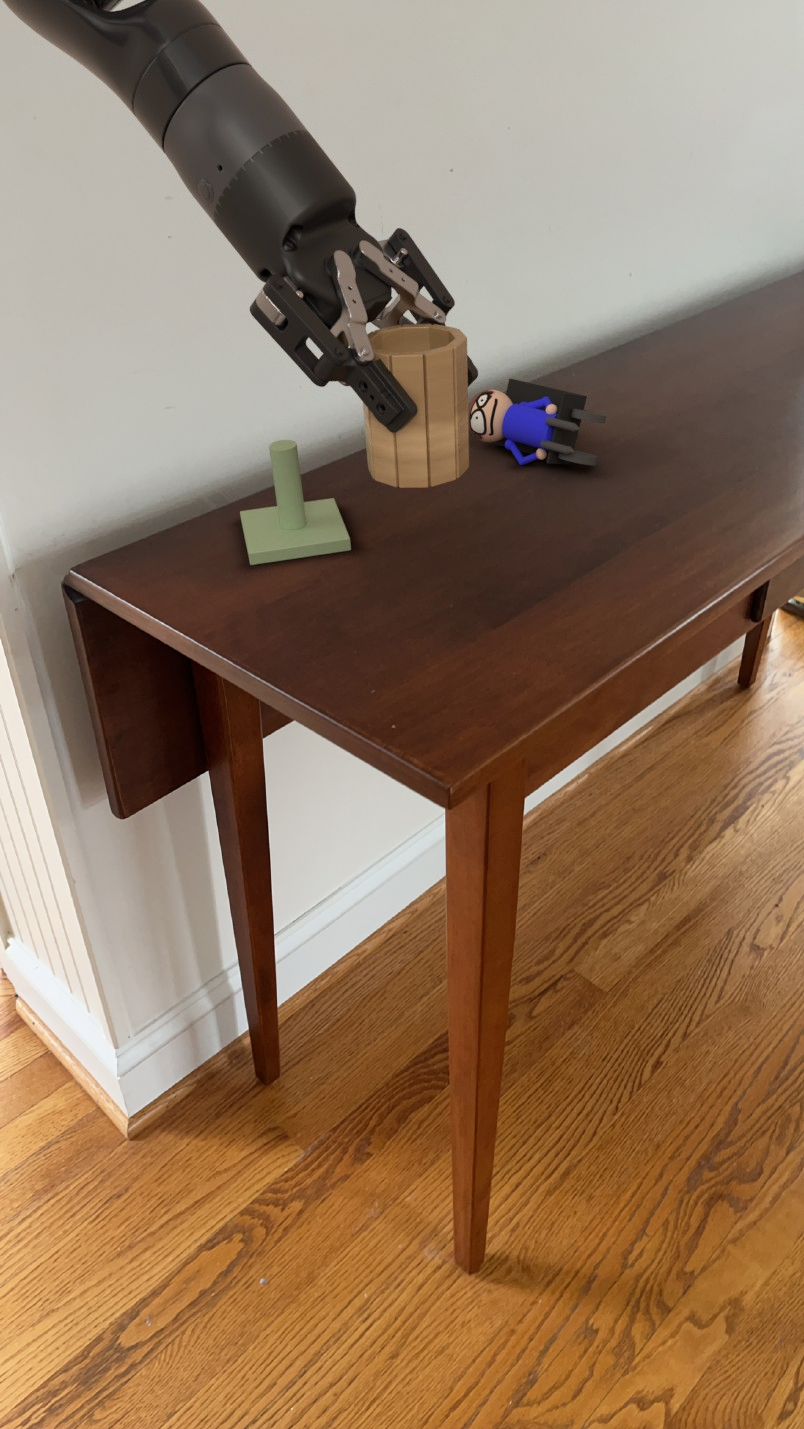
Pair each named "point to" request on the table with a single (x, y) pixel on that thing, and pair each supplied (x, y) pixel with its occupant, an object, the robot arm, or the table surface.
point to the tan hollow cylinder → (422, 407)
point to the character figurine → (532, 422)
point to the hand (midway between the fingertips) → (438, 403)
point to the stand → (292, 517)
